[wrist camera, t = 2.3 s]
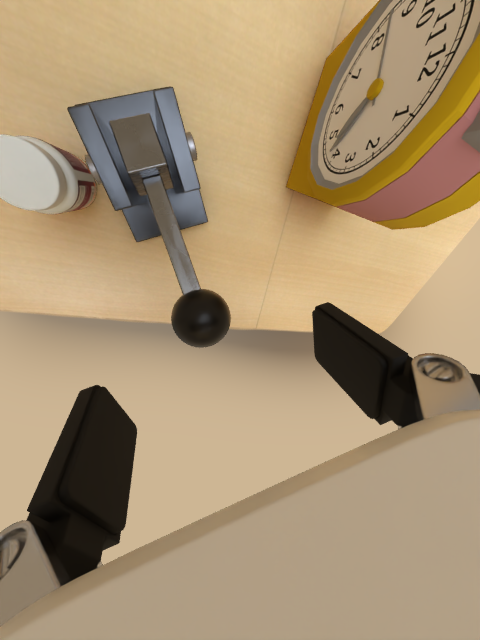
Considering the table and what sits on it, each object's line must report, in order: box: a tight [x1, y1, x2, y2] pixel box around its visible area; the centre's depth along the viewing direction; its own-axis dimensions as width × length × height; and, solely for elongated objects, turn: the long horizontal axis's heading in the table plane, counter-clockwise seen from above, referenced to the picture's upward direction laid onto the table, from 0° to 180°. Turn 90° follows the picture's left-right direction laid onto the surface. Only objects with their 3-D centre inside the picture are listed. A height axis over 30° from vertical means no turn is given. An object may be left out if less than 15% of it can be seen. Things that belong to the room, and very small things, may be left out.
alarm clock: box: [286, 0, 480, 230], centre depth 18 cm, size 15×8×18 cm, turn 163°
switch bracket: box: [67, 87, 208, 242], centre depth 17 cm, size 11×8×13 cm
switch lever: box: [109, 113, 231, 347], centre depth 14 cm, size 13×4×4 cm, turn 12°
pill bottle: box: [0, 135, 96, 214], centre depth 17 cm, size 5×5×8 cm
